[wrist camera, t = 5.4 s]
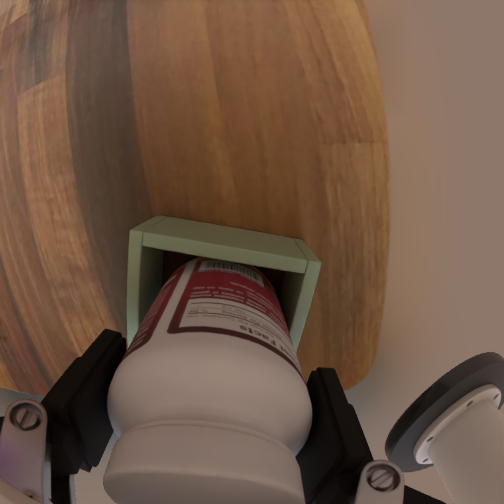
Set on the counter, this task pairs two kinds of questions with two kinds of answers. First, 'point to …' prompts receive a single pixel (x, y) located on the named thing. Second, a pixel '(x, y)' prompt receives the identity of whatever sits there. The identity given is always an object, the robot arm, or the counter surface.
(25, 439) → the robot arm
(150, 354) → the pill bottle
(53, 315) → the counter surface
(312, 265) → the green open box
